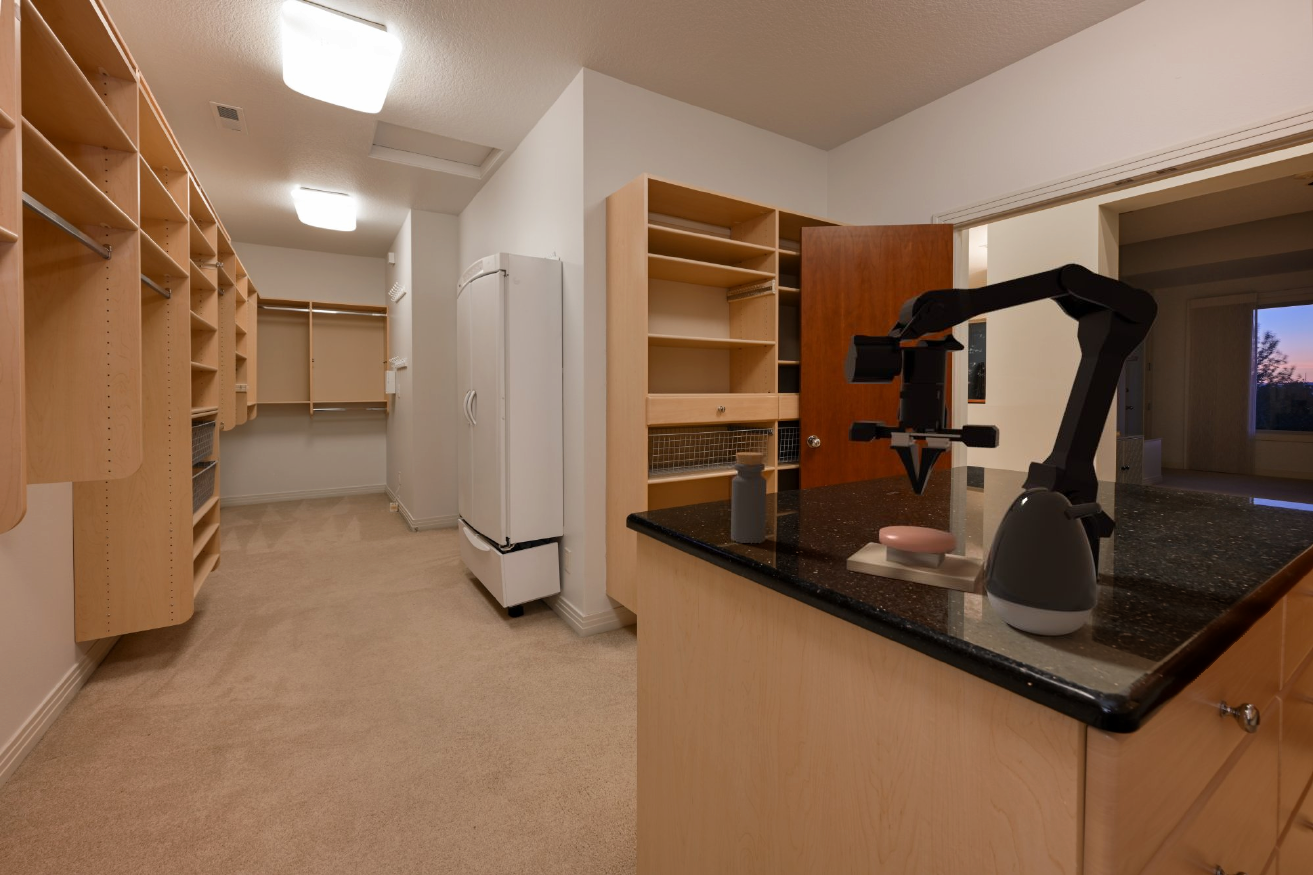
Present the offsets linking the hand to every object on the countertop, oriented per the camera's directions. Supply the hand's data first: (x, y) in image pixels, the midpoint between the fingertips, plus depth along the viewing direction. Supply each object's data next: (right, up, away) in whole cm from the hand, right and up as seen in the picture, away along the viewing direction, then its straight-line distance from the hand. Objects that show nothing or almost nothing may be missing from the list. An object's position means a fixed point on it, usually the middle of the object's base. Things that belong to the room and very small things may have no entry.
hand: (918, 494), depth 82 cm
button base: (0, -11, +1) cm, 11 cm away
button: (0, -9, +1) cm, 9 cm away
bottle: (-21, -10, +17) cm, 29 cm away
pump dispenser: (+4, -13, -19) cm, 23 cm away
